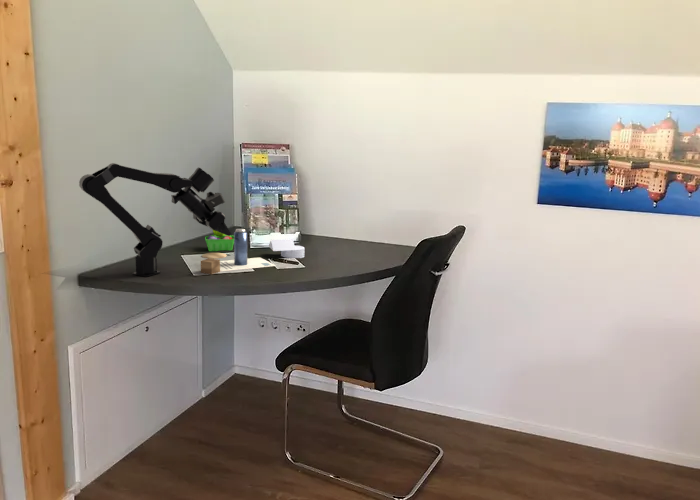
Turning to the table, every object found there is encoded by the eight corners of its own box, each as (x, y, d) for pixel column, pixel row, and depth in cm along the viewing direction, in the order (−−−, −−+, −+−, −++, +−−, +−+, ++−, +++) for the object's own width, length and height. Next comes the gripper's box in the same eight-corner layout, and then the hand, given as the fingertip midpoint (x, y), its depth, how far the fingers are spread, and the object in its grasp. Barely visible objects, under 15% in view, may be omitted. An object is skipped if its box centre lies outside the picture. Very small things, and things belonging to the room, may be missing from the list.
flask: (242, 266, 221) (242, 231, 218) (231, 264, 222) (231, 229, 220) (249, 263, 225) (249, 229, 222) (239, 262, 227) (238, 228, 224)
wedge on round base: (273, 259, 233) (307, 258, 238) (273, 242, 232) (307, 240, 236) (268, 254, 242) (301, 253, 246) (268, 237, 240) (301, 236, 245)
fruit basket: (205, 252, 243) (204, 223, 241) (205, 247, 251) (204, 219, 249) (235, 251, 246) (235, 223, 243) (234, 247, 254) (234, 219, 252)
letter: (219, 272, 212) (219, 271, 212) (205, 263, 225) (205, 262, 225) (276, 266, 223) (276, 265, 223) (260, 258, 235) (260, 257, 235)
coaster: (217, 260, 230) (217, 258, 229) (197, 257, 233) (197, 256, 233) (231, 255, 238) (231, 254, 237) (211, 253, 241) (211, 251, 241)
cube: (211, 275, 208) (211, 262, 207) (200, 273, 210) (200, 260, 209) (220, 272, 212) (219, 259, 211) (209, 271, 214) (209, 258, 213)
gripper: (218, 188, 204) (250, 219, 212) (201, 182, 220) (231, 211, 228) (195, 213, 202) (229, 244, 210) (179, 205, 218) (211, 234, 226)
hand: (225, 232), depth 218 cm, fingers open, 9 cm apart
